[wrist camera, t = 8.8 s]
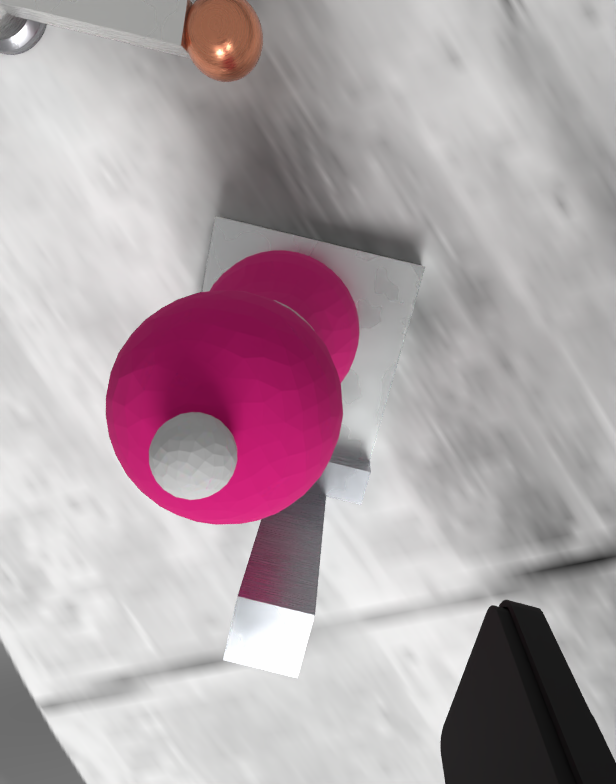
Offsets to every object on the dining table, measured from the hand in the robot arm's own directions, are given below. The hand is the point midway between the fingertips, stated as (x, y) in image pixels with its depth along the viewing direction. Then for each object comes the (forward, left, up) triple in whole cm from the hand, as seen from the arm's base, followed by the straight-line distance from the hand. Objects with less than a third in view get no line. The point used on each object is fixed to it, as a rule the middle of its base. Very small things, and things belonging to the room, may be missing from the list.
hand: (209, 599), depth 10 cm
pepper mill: (+1, -1, -22) cm, 22 cm away
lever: (+13, -13, -22) cm, 29 cm away
